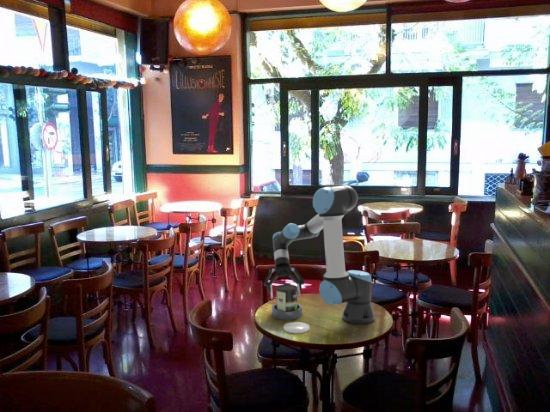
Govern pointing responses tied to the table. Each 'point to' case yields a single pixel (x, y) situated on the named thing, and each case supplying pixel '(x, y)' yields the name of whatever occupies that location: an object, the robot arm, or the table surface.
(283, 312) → the ring collar
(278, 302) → the coffee can
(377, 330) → the table surface
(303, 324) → the saucer
